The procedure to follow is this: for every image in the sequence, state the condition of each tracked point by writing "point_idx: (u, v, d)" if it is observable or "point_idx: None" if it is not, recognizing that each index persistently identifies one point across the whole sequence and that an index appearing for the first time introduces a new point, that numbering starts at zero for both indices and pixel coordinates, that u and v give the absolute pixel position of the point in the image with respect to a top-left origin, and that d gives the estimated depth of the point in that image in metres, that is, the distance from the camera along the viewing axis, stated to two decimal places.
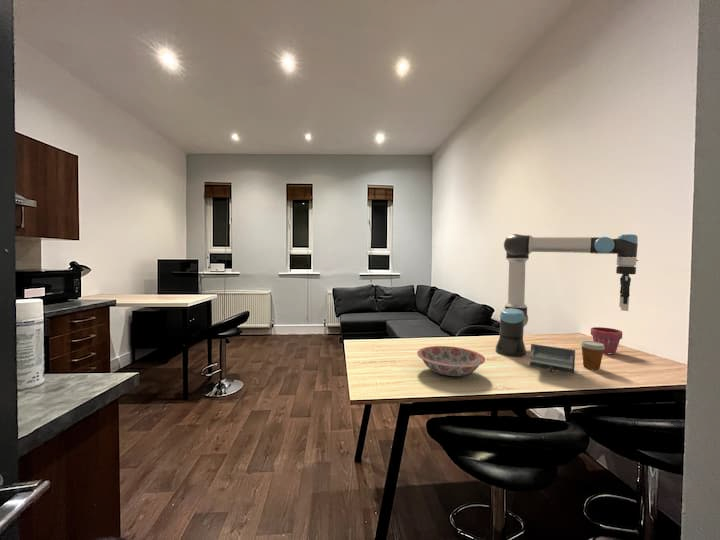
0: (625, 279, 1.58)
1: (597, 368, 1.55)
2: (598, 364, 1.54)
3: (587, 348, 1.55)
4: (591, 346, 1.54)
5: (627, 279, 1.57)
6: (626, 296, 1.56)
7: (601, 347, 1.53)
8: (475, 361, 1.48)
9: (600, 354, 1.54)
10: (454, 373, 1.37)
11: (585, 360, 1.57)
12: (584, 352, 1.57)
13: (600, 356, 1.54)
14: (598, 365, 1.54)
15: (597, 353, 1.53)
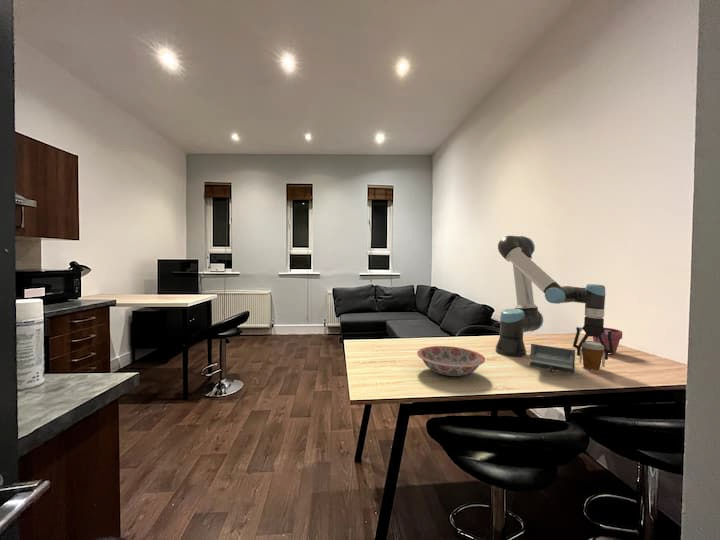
0: None
1: (597, 368, 1.55)
2: (598, 364, 1.54)
3: (587, 348, 1.55)
4: (591, 346, 1.54)
5: None
6: None
7: (601, 347, 1.53)
8: (475, 361, 1.48)
9: (600, 354, 1.54)
10: (454, 373, 1.37)
11: (585, 360, 1.57)
12: (584, 352, 1.57)
13: (600, 356, 1.54)
14: (598, 365, 1.54)
15: (597, 353, 1.53)
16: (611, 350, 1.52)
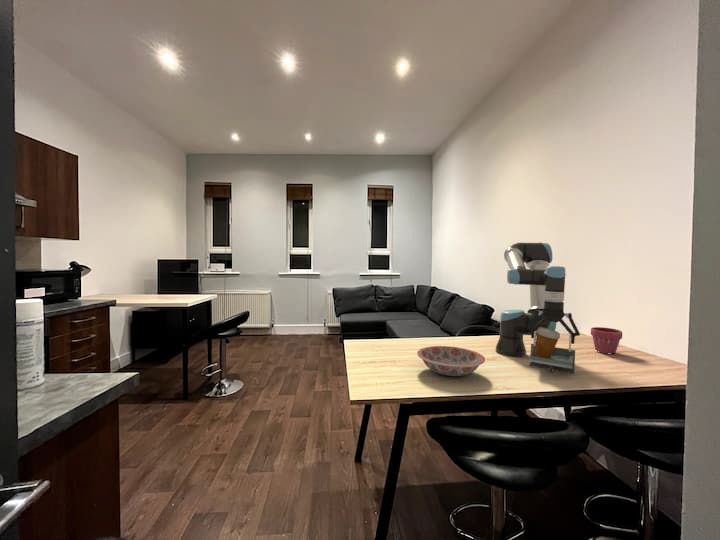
0: (536, 313, 1.51)
1: (547, 356, 1.47)
2: (549, 353, 1.46)
3: (541, 335, 1.46)
4: (546, 333, 1.45)
5: None
6: None
7: (556, 336, 1.44)
8: (475, 361, 1.48)
9: (553, 343, 1.45)
10: (454, 373, 1.37)
11: (537, 347, 1.49)
12: (538, 338, 1.49)
13: (553, 345, 1.45)
14: (549, 354, 1.47)
15: (550, 341, 1.45)
16: (577, 333, 1.42)
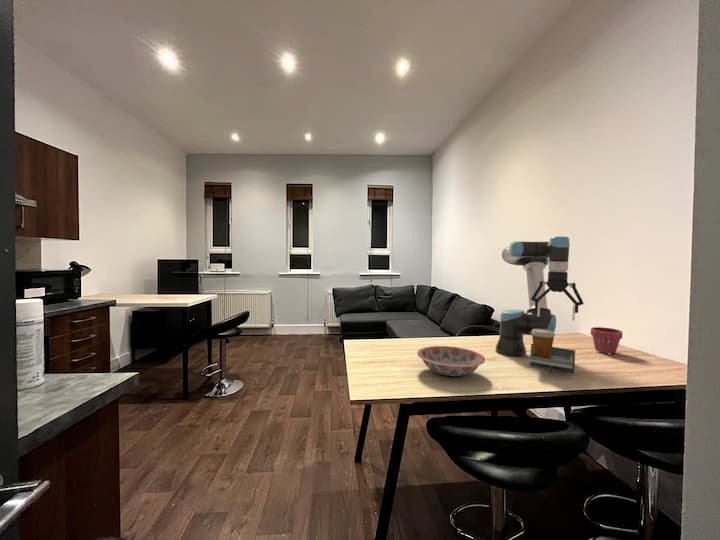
0: (540, 284, 1.53)
1: (547, 357, 1.47)
2: (548, 352, 1.47)
3: (536, 336, 1.48)
4: (540, 333, 1.46)
5: None
6: (533, 300, 1.54)
7: (550, 334, 1.45)
8: (475, 361, 1.48)
9: (549, 342, 1.46)
10: (454, 373, 1.37)
11: (535, 348, 1.49)
12: (534, 340, 1.50)
13: (550, 344, 1.46)
14: (548, 353, 1.47)
15: (546, 341, 1.46)
16: (581, 302, 1.43)
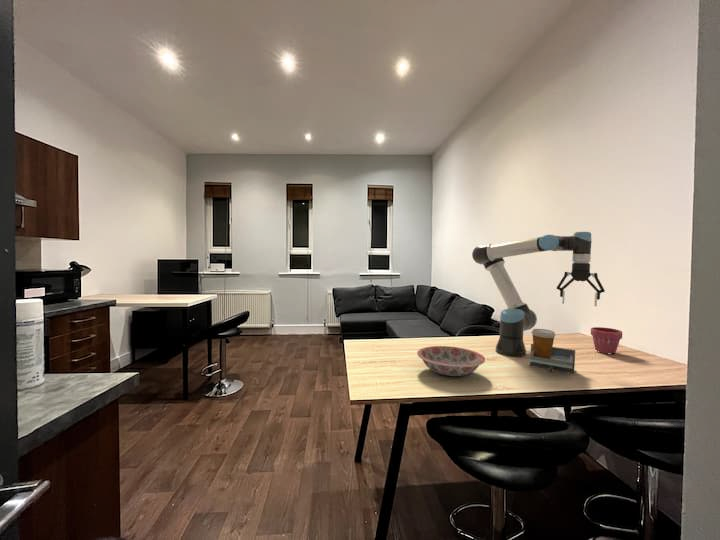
0: None
1: (547, 357, 1.47)
2: (548, 353, 1.47)
3: (537, 336, 1.48)
4: (540, 333, 1.46)
5: (564, 274, 1.70)
6: (558, 289, 1.72)
7: (551, 334, 1.45)
8: (475, 361, 1.48)
9: (550, 342, 1.46)
10: (454, 373, 1.37)
11: (535, 348, 1.49)
12: (534, 340, 1.49)
13: (550, 344, 1.46)
14: (548, 354, 1.47)
15: (546, 341, 1.46)
16: (602, 290, 1.61)
